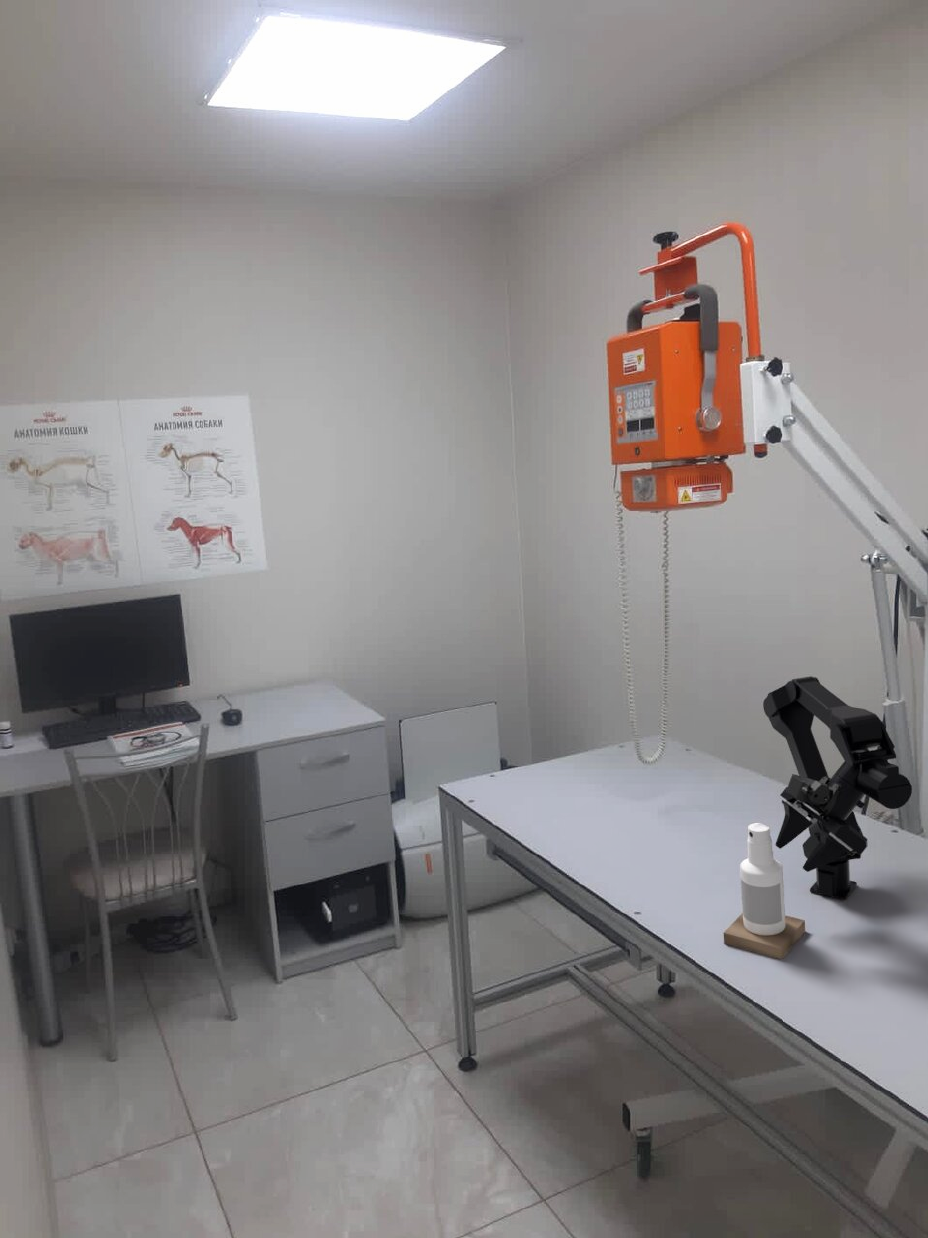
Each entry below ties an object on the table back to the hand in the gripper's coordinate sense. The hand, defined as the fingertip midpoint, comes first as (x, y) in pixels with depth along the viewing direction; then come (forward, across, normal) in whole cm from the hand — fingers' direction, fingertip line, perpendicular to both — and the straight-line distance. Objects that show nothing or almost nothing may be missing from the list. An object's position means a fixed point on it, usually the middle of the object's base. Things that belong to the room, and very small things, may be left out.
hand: (790, 858), depth 163 cm
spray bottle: (+12, 0, +5) cm, 13 cm away
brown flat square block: (+13, 0, +6) cm, 15 cm away
